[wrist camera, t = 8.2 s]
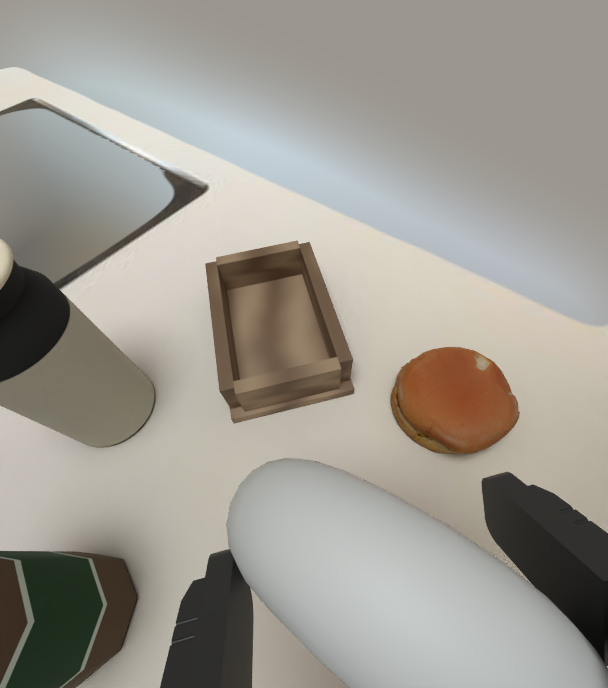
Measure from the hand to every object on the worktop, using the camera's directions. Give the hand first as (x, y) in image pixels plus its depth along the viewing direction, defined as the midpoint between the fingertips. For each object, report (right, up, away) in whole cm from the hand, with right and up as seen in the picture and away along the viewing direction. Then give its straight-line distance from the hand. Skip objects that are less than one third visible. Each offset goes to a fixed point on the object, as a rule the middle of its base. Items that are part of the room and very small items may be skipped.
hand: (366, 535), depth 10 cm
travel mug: (-20, -1, +23) cm, 31 cm away
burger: (+11, 0, +21) cm, 24 cm away
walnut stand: (-5, +7, +26) cm, 27 cm away
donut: (+1, -4, +4) cm, 6 cm away
